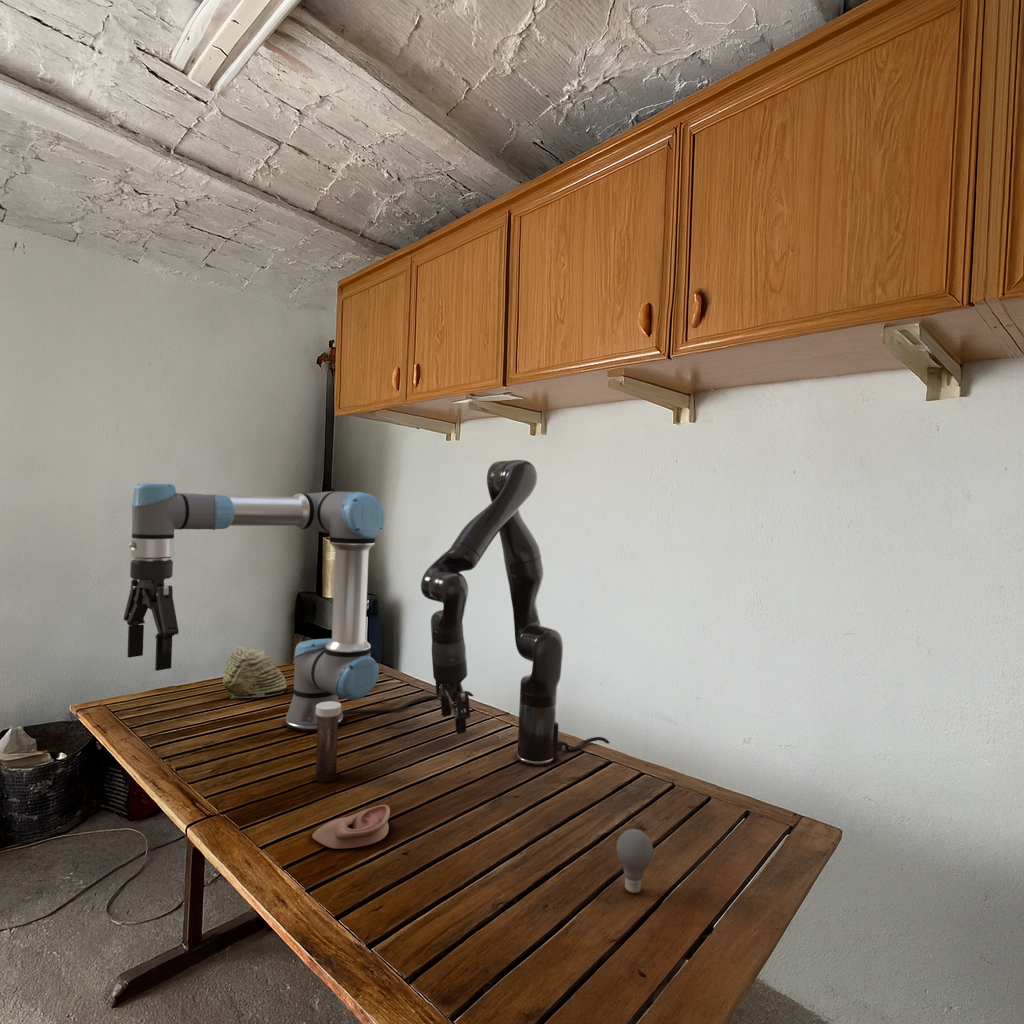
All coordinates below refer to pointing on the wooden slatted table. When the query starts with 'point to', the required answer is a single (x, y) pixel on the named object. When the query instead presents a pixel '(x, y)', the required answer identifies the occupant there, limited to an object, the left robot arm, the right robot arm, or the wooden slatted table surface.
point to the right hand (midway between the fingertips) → (453, 723)
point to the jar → (326, 748)
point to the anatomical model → (355, 829)
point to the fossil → (252, 674)
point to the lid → (328, 709)
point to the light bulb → (634, 857)
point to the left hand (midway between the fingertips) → (148, 662)
